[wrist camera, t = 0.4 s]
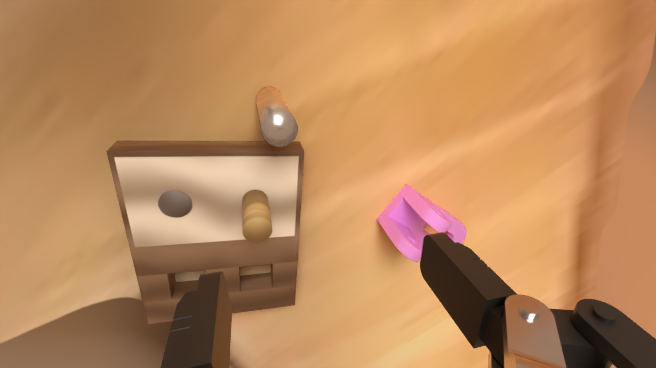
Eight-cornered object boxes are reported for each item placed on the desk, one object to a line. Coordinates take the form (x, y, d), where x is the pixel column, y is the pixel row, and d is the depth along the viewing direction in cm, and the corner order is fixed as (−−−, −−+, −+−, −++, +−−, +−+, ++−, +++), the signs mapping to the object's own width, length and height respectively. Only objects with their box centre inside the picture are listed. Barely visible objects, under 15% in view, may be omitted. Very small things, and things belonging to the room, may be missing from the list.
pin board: (117, 140, 27) (77, 179, 20) (299, 141, 31) (315, 174, 24) (153, 305, 36) (134, 370, 29) (291, 289, 40) (302, 343, 33)
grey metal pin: (255, 86, 28) (261, 111, 20) (282, 87, 28) (298, 112, 21) (256, 112, 29) (261, 146, 21) (282, 113, 29) (296, 146, 22)
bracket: (376, 217, 38) (400, 254, 32) (405, 183, 37) (437, 214, 31) (439, 254, 44) (470, 291, 38) (467, 226, 43) (504, 259, 37)
